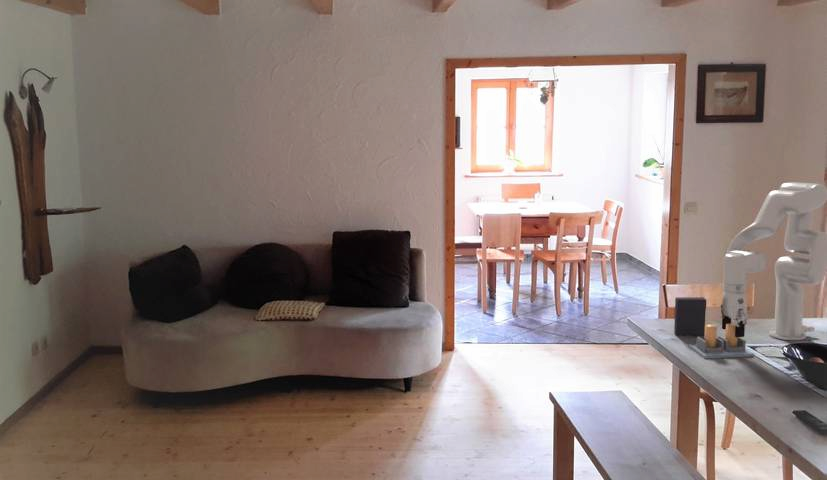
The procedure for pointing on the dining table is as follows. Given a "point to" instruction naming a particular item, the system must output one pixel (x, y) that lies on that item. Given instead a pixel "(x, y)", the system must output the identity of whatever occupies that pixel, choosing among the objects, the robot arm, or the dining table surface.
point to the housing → (718, 345)
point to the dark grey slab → (690, 316)
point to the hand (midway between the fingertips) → (732, 332)
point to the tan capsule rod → (731, 335)
